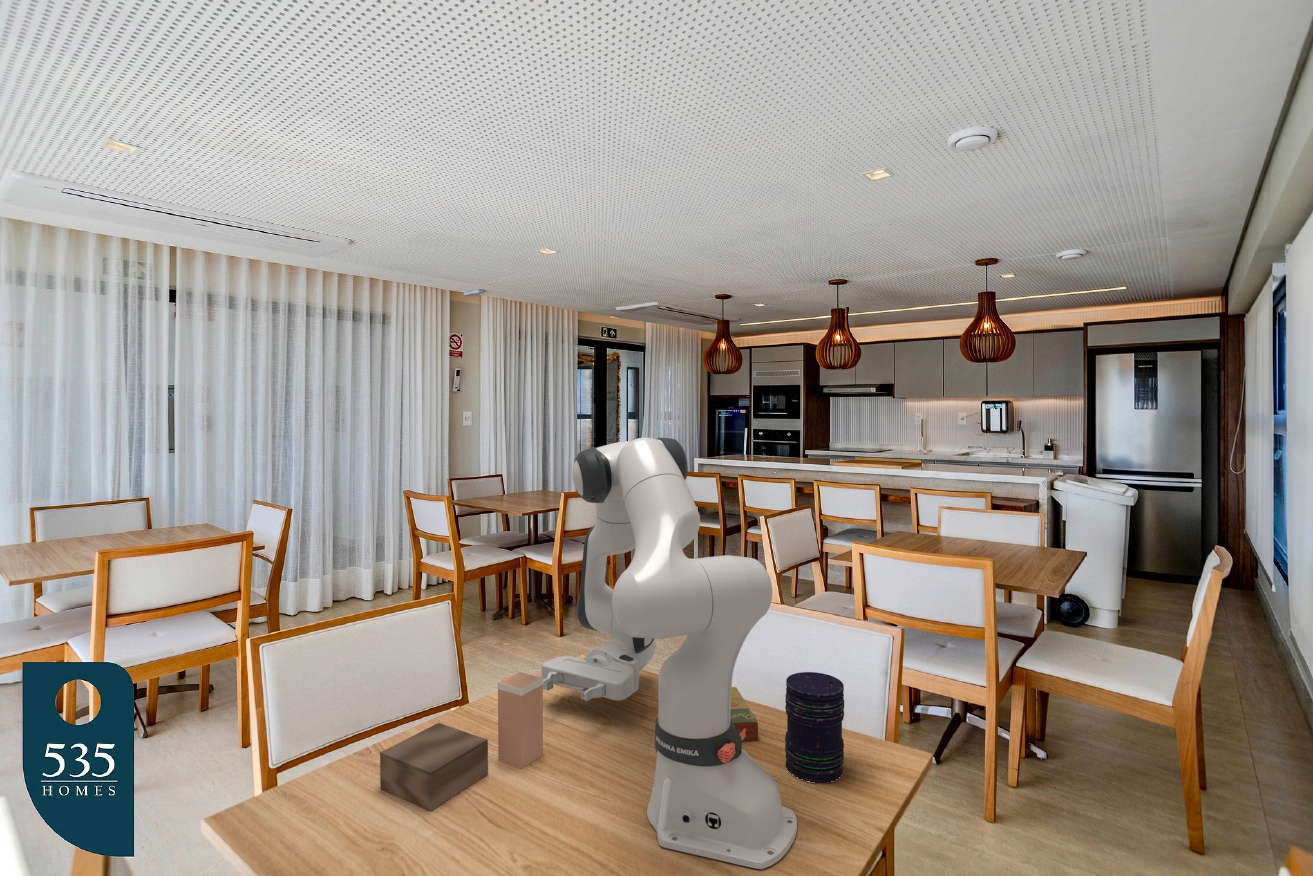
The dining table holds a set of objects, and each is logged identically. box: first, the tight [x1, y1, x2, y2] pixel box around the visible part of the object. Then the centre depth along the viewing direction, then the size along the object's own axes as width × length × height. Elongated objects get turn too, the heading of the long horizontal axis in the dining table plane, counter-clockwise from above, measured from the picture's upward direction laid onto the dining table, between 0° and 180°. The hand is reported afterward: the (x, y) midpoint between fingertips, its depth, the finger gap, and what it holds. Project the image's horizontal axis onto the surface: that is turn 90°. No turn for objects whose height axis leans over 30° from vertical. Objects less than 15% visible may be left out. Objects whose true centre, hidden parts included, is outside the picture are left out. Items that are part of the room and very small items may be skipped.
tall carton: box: [497, 671, 544, 770], centre depth 116 cm, size 6×6×14 cm
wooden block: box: [379, 722, 489, 812], centre depth 108 cm, size 12×12×6 cm
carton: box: [730, 686, 759, 742], centre depth 129 cm, size 8×16×4 cm, turn 8°
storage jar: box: [784, 671, 845, 783], centre depth 112 cm, size 10×10×15 cm
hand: (563, 691), depth 126 cm, fingers open, 8 cm apart
